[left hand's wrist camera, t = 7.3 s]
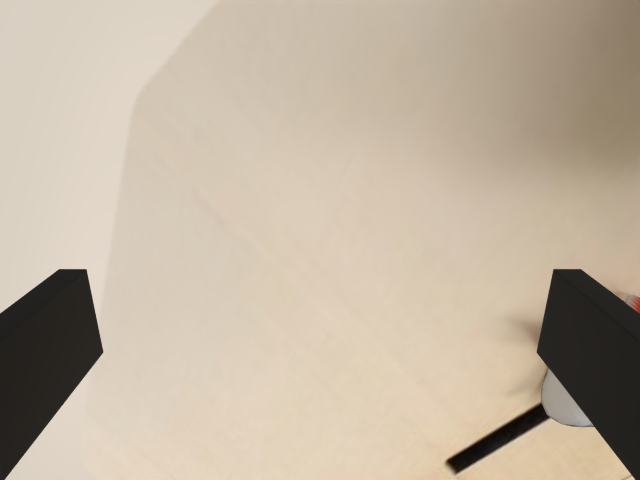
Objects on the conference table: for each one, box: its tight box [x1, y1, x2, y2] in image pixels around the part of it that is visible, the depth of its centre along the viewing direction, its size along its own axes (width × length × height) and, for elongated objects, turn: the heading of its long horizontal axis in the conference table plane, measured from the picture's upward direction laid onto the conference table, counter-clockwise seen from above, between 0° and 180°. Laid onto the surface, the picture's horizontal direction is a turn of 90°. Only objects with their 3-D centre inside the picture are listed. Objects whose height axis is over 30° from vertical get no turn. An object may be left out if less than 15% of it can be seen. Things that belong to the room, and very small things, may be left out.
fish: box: [541, 295, 640, 427], centre depth 40 cm, size 11×16×10 cm
